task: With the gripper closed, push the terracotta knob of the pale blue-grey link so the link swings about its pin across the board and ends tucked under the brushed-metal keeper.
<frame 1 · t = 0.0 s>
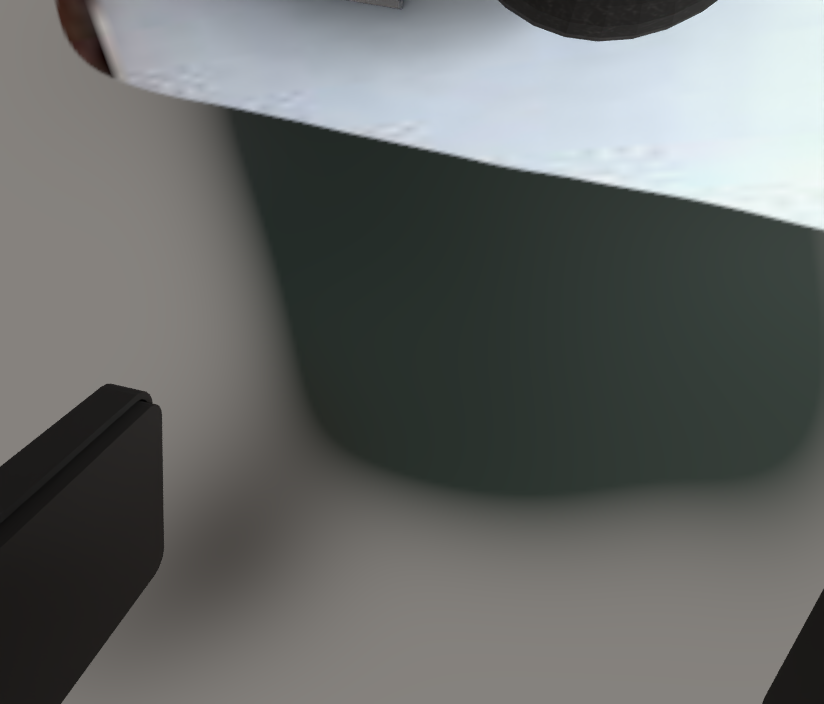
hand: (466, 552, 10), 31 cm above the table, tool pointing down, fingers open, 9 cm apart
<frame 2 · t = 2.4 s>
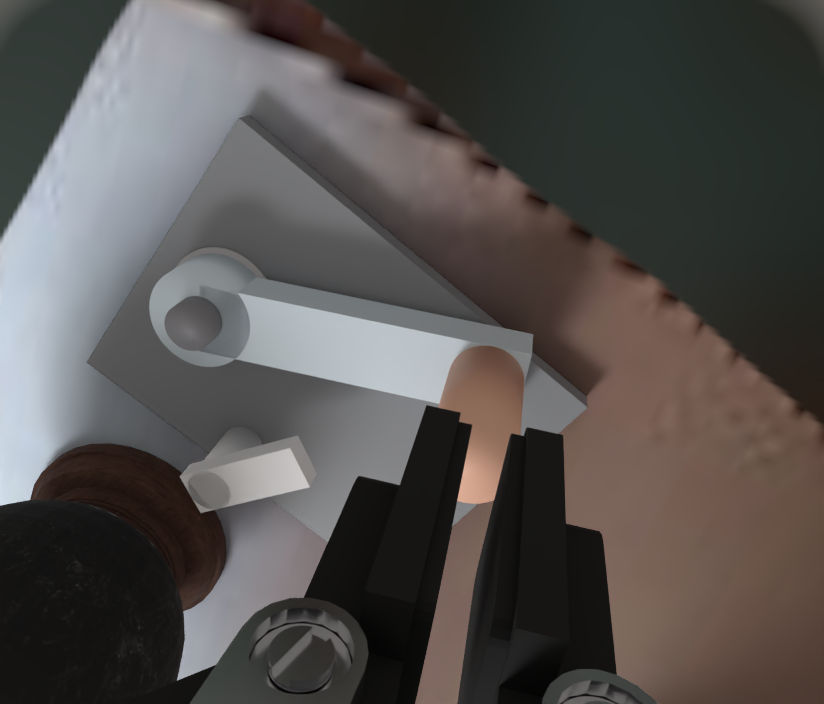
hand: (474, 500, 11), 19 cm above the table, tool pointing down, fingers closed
snow globe: (133, 527, 39), on the table
link: (316, 368, 26), point 5 cm above the table, hinge at 30.0°
pintle board: (232, 292, 32), on the table
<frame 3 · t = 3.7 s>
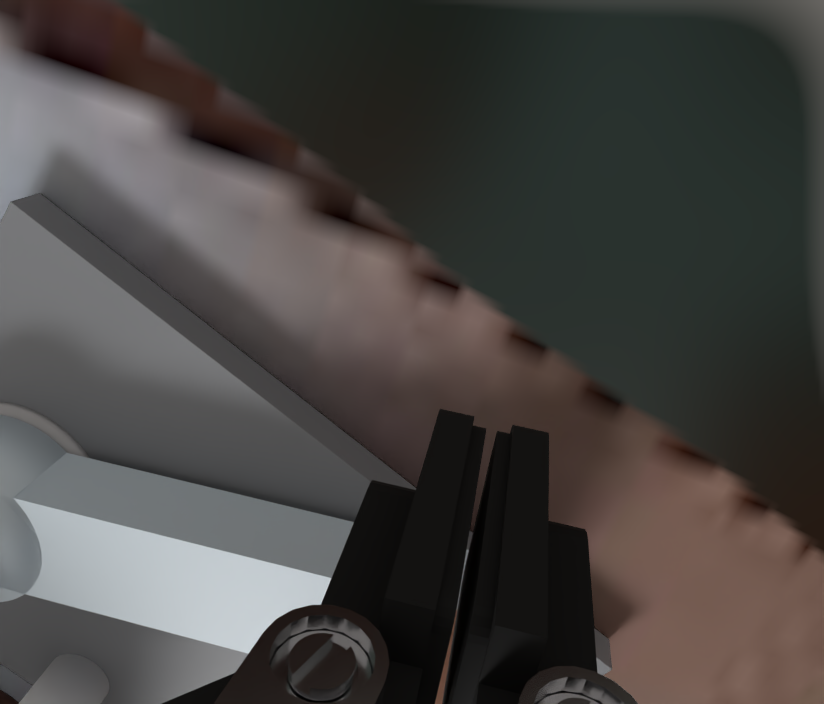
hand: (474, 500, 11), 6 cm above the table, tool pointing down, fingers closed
link: (129, 655, 15), point 5 cm above the table, hinge at 30.0°
pintle board: (46, 459, 20), on the table
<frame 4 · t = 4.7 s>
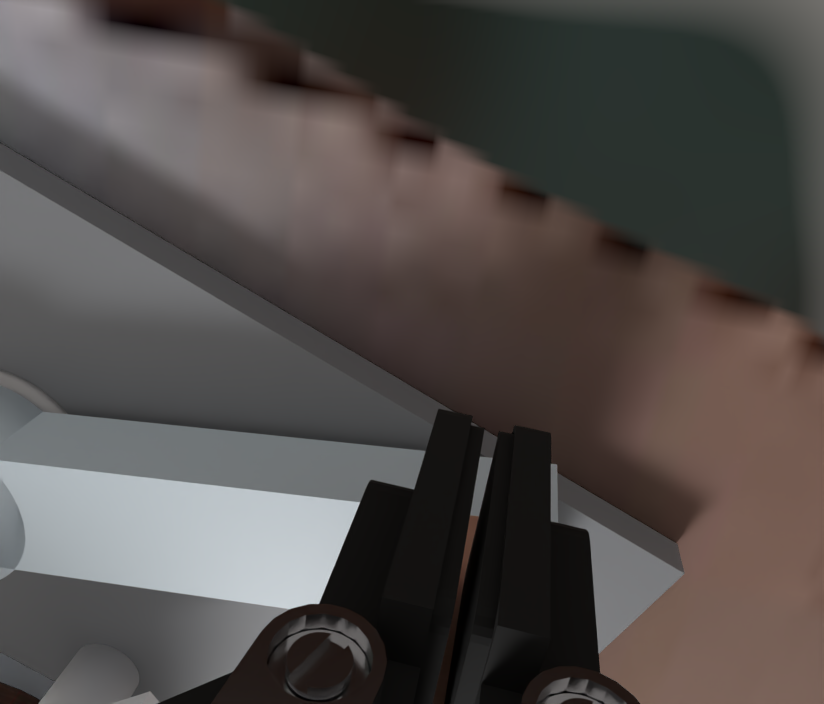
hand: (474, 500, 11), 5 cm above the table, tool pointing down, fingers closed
link: (116, 609, 13), point 5 cm above the table, hinge at 29.1°, touching gripper
pintle board: (32, 431, 18), on the table
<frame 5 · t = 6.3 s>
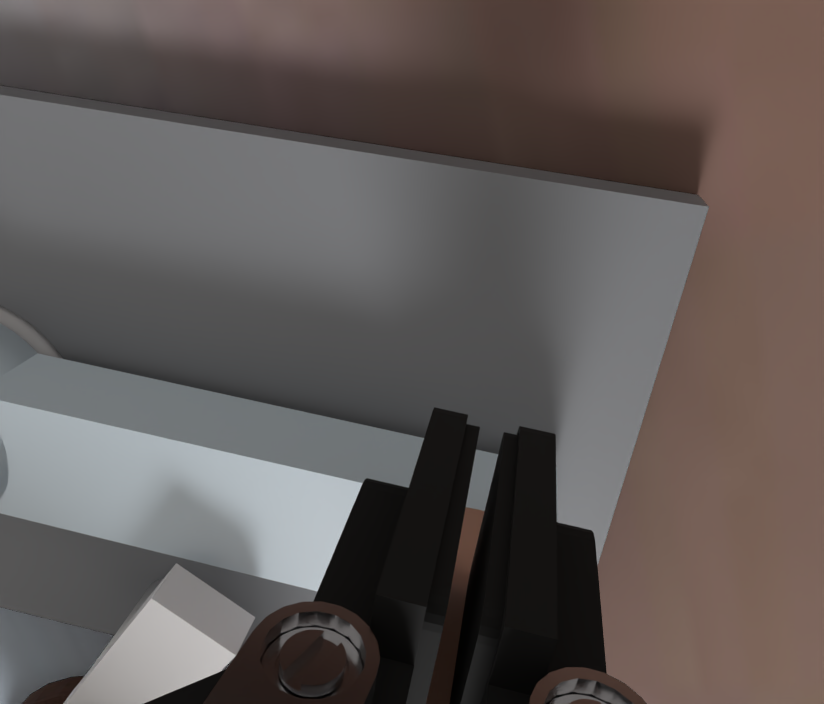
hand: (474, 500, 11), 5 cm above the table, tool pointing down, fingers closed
link: (106, 564, 13), point 5 cm above the table, hinge at -1.1°, touching gripper
pintle board: (19, 371, 18), on the table
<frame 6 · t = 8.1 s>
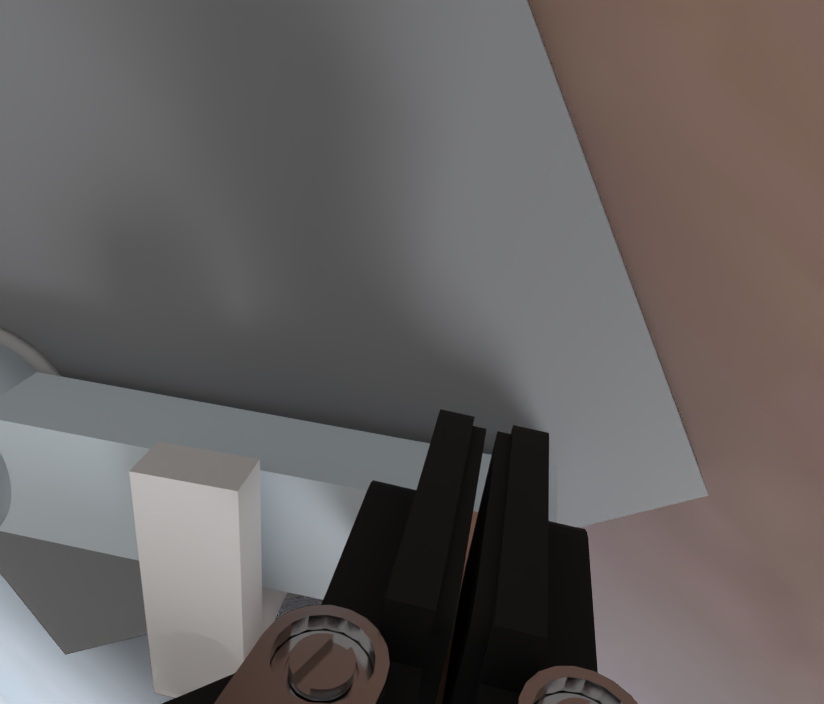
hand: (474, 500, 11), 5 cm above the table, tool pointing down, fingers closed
link: (106, 578, 13), point 5 cm above the table, hinge at -30.9°, touching gripper, pintle board
pintle board: (21, 391, 18), on the table
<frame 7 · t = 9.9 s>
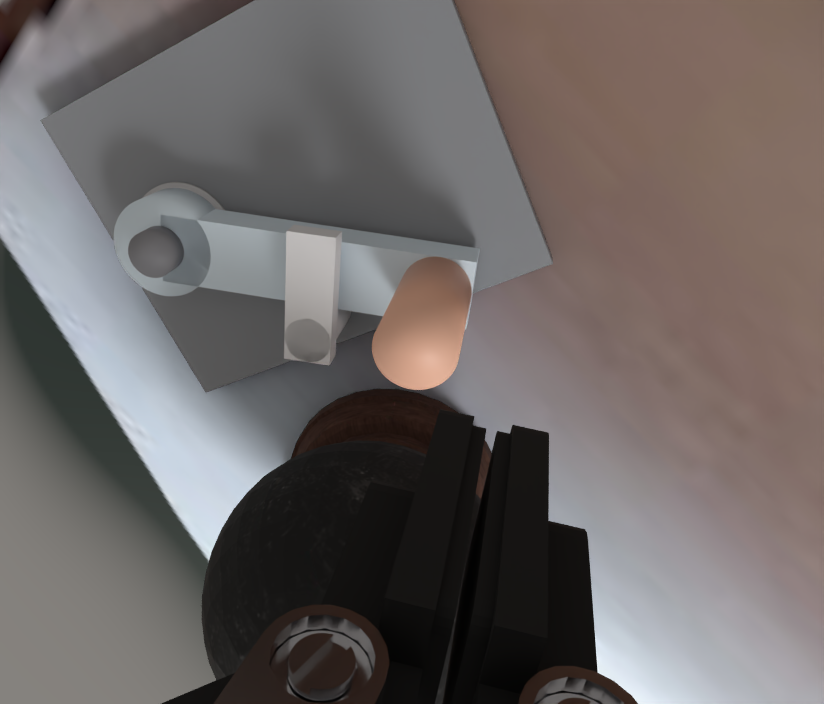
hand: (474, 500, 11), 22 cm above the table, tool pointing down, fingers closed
snow globe: (395, 478, 38), on the table
link: (273, 283, 28), point 5 cm above the table, hinge at -30.8°
pintle board: (194, 228, 33), on the table
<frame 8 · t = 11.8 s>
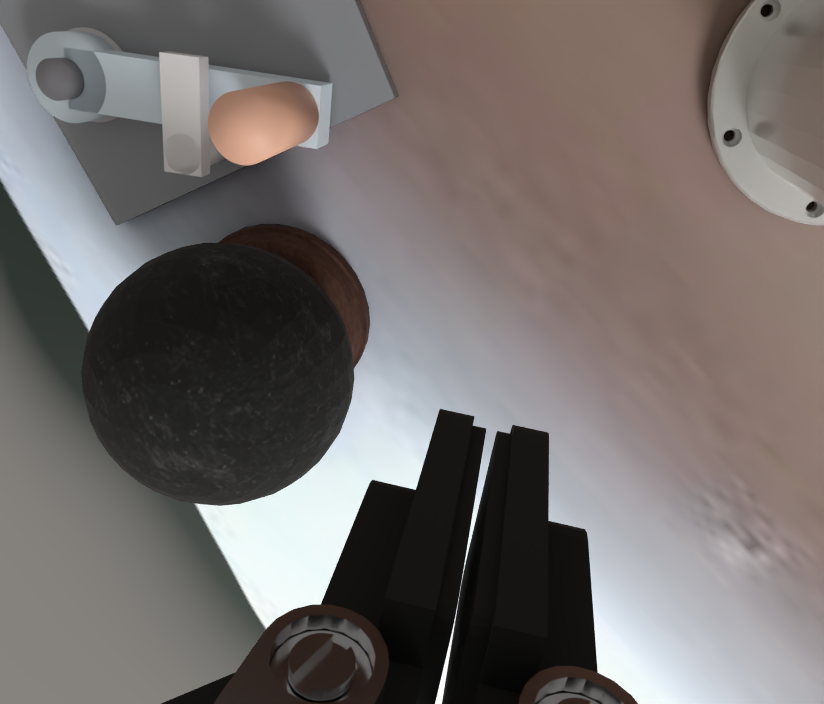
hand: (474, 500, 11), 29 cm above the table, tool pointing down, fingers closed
snow globe: (282, 312, 43), on the table
link: (149, 98, 33), point 5 cm above the table, hinge at -30.8°
pintle board: (103, 74, 39), on the table
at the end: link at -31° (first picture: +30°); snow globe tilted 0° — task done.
